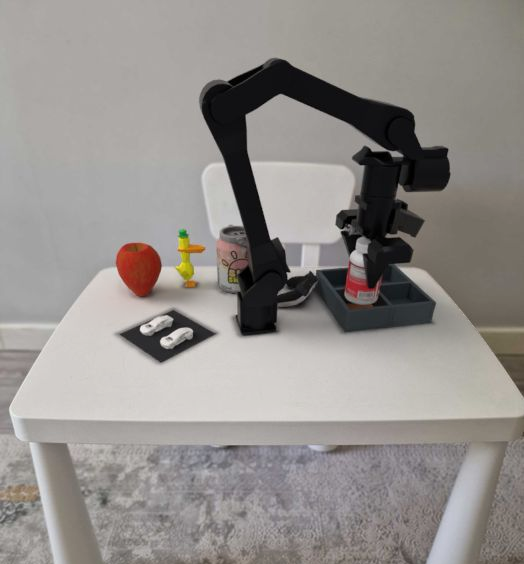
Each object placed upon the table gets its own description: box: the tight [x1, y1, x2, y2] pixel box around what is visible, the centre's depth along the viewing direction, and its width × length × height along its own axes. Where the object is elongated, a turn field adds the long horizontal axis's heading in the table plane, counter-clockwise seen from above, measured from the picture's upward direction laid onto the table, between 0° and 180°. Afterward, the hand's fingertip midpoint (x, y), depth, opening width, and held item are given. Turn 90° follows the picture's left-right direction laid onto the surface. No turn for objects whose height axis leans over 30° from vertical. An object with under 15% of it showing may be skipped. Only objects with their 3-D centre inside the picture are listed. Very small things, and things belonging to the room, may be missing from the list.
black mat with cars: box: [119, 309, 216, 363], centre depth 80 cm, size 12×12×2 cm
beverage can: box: [215, 224, 248, 294], centre depth 93 cm, size 9×8×12 cm
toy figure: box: [173, 228, 206, 288], centre depth 93 cm, size 7×4×12 cm, turn 89°
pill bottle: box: [345, 237, 383, 305], centre depth 81 cm, size 6×6×11 cm
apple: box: [115, 242, 163, 297], centre depth 90 cm, size 9×8×11 cm
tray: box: [314, 264, 437, 333], centre depth 90 cm, size 17×17×4 cm
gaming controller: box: [275, 270, 318, 308], centre depth 91 cm, size 11×4×7 cm
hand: (363, 280), depth 82 cm, fingers closed on pill bottle, 6 cm apart
